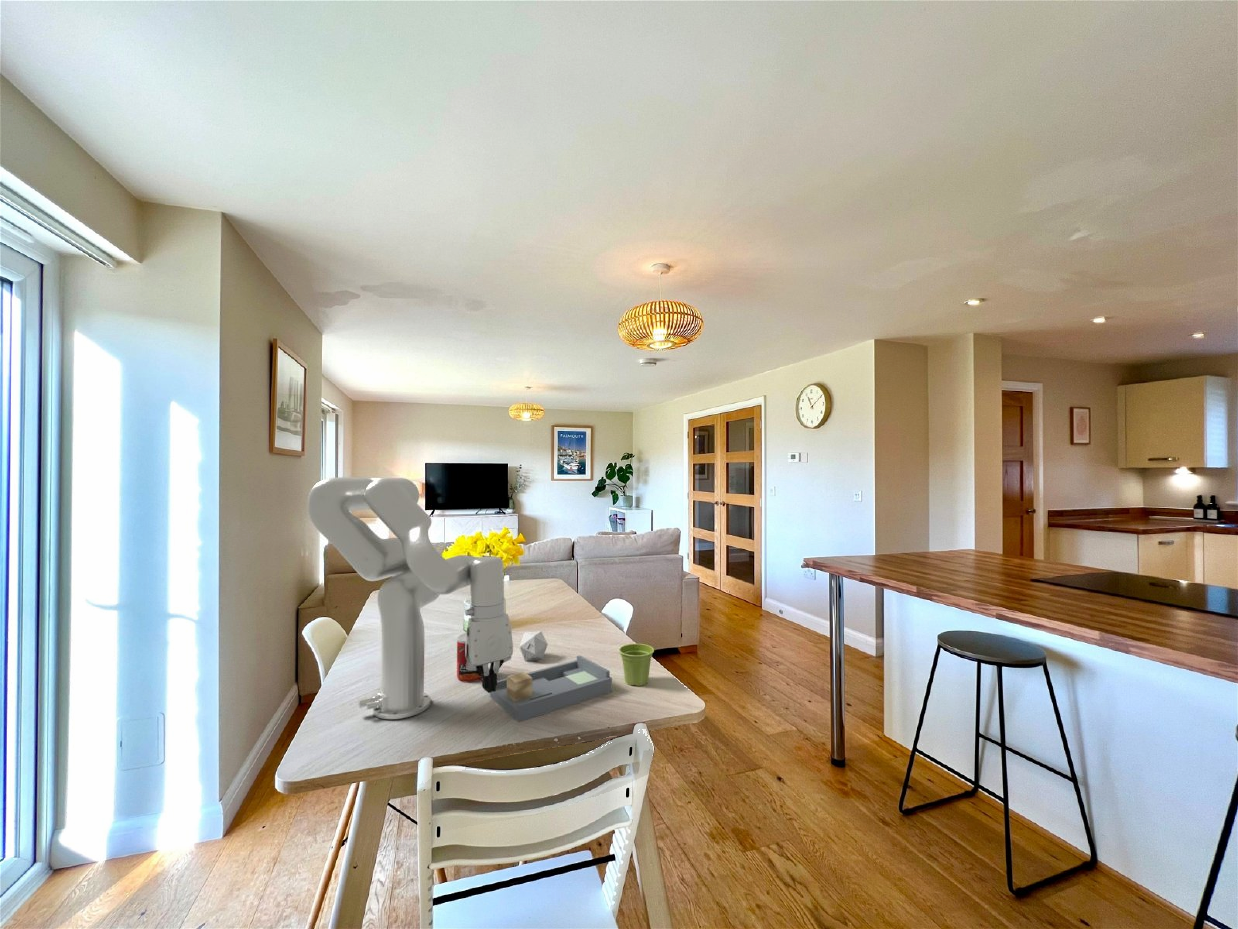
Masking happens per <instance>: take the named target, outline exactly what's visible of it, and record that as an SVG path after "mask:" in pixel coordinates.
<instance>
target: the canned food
mask: <svg viewBox="0 0 1238 929" xmlns="http://www.w3.org/2000/svg"><path fill="white" fill-rule="evenodd" d="M456 644H457V645H456V677H457V680H459V681H461V682H464V683H473V682H477V681H480V680H482V673H481V672H479V671H478V670H468V669H466V663H467V660H466V656H465V644H466V633H462V634H460V635H459V636H457V639H456Z"/></svg>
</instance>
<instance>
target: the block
mask: <svg viewBox="0 0 1238 929" xmlns="http://www.w3.org/2000/svg"><path fill="white" fill-rule="evenodd" d="M526 673H527V672H524V671H521V672H518V673H514V674H510V675H507V676H506V678H507V695H508V696H509V697H510V698H511V699H513V700H514V701H518V700H522V699H525V698H528V697H532V677H531V676H529V675H528V674H526Z"/></svg>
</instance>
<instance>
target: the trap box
mask: <svg viewBox="0 0 1238 929" xmlns="http://www.w3.org/2000/svg"><path fill="white" fill-rule="evenodd" d="M525 673H526V674H528V675H529V676H531V677H532V697H528V698H525V699H522V700H518V701H514V700H513V699H511V698H510V697H509V696H508V695H507V677H506V678H502V679H499V680H498V679H497V686H496V691H495V692H493V691H492V692H491V693H489V697H490V698H491V699H492V700H493V701H494V702H496V704H498V705H499V706H500V707H502V709H504V710H505V711H506V712H507V713H508V714H510V716H512V717H513V718H514V719H516V720H517V722H519V723H520V722H522V721H526V720H529V719H531V718H536V717H538V716H540V715H544V714H548V713H551V712H554V711H557V710H559V709H563V708H566V707H569V706H572V705H575V704H578V703H582V702H585V701H587V700H591V699H593V698H598V697H600V696H604V695H606V694H608V693H612V690H613V678H612V677H611V676H610V674H611V673H610V670H609V669H607V668H605V667H603V666H601V665H599V664H597V663H596V662H593V661H592V660H590V659H587V658H585V657H584V656H582V655H580V654H579V655H577V656H576V659H575V660H572V661H568V662H563V663H560V664H559V663H558V664H556V665H553V666H549V667H545V668H541V669H537V670H533V671H529V672H525Z"/></svg>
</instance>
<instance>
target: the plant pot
mask: <svg viewBox="0 0 1238 929" xmlns="http://www.w3.org/2000/svg"><path fill="white" fill-rule="evenodd" d="M618 652H619V653H620V657H621V660H622V667H623V674H624V680H625V683H626V684H627V685H629V686H637V687H640V686H644V685H646V684H647V683H648V682H649V676H650V669H651V660H652V657H653V653H654V652H655V649H654V647H652V646H651V645H648V644H645V643H628V644H624V645H621V646H620V647H619V648H618Z"/></svg>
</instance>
